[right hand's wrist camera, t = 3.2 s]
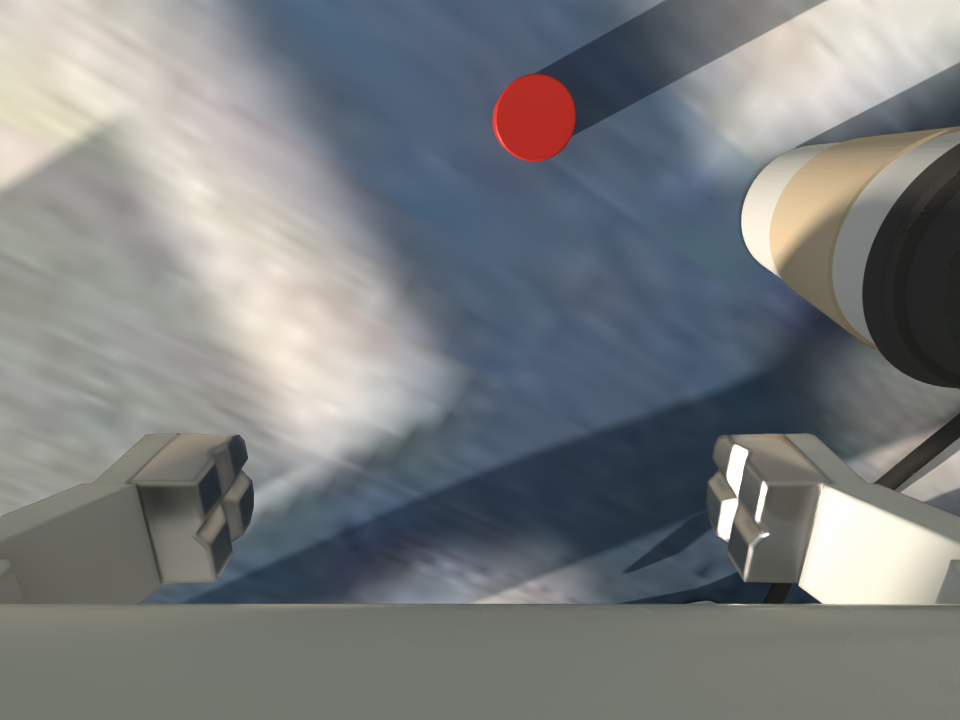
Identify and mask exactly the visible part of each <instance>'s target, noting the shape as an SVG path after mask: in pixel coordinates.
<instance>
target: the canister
mask: <svg viewBox="0 0 960 720" xmlns="http://www.w3.org/2000/svg"><path fill="white" fill-rule="evenodd" d="M575 124H576V108H575V103H574V100H573V98H572V96H571V94H570V92H569V91H568V89H567V88H566V87H565V86H564V84H562V83H561V82H560V81H559V80H557V79H556V78H554V77H551V76H549V75H545V74H528V75H525V76H522V77H520V78H518V79H516V80H515V81H513V82H512V83H511V84H510V85H509V86H508V87H507V88H506V89H505V90H504V92H503V93H502V95H501V96H500V98H499V99H498V101H497V103H496V105H495V108H494V112H493V129H494V132H495V135H496V137H497V139H498V141H499V142H500V144H501V145H502V146H503V147H504V148H505V149H506V150H508V151H509V152H510V153H511V154H513V155H514V156H516V157H518V158H520V159H523V160H526V161H542V160H546V159H549V158H551V157H553V156H555V155H556V154H558V153H559V152H560V151H561V150H562V149H563V148H564V147H565V146H566V145H567V143H568V142H569V140H570V138H571V137H572V134H573V132H574V128H575Z"/></svg>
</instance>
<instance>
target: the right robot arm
mask: <svg viewBox="0 0 960 720" xmlns="http://www.w3.org/2000/svg"><path fill="white" fill-rule="evenodd" d="M959 437H960V413H959V414H958V415H957V416H956V417H954V418H953V419H952V420H951V421H949V422H948V423H947V424H946V425H944V426H943V427H942V428H941V429H939V430H938V431H937V432H936V433H934V434H933V435H932V436H931V437H929V438H928V439H927V440H926V441H925V442H923V443H922V444H921V445H920V446H918V447H917V448H916V449H915V450H914V451H912V452H911V453H910V454H909V455H908V456H906V457H905V458H904V459H903V460H901V461H900V462H899V463H898V464H897V465H895V466H894V467H893V468H892V469H891V470H889V471H888V472H887V473H886V474H885V475H883V476H882V477H881V478H880V479H879V480H877V481H876V482H875V483H874V484H868V483H867V482H866V481H864V480H863V479H862V478H861V477H860V476H859V475H858V474H857V473H856V472H855V471H853V470H852V469H851V468H850V467H849V466H848V465H847V464H846V463H845V462H844V461H842V460H841V459H840V458H839V457H838V456H837V455H836V454H835V453H834V452H833V451H831V450H830V449H829V448H828V447H827V446H826V445H825V444H824V443H823V442H822V441H820V440H819V439H818V438H817V437H816V436H815V435H812V434H808V433H796V434H748V435H723V436H718V438H717V440H716V442H715V445H714V449H713V455H712V459H713V461H714V462H715V464H716V465H717V467H718V468H719V470H718V471H717V472H716V473H715V474H714V475H713V476H712V477H711V478H710V479H709V480H708V485H707V493H706V504H707V514H708V517H709V520H710V523H711V526H712V528H713V529H714V531H715V533H716V535H718V536H719V537H721V538H723V539H724V540H726V541H727V542H729V545H728V550H727V554H728V555H729V557H730V559H731V561H732V562H733V564H734V566H735V567H736V569H737V571H738V572H739V574H740V576H741V577H742V579H743V581H744V582H768V583H773V584H772V586H771V588H770V590H769V592H768V594H767V596H766V598H765V600H764V602H763V603H762V604H717V603H715V602H712V601H699V602H694V603H688V604H138V603H139V602H140V601H142V600H143V599H144V598H146V597H147V596H149V595H150V594H151V593H153V592H154V591H155V590H157V589H158V588H159V587H161V583H191V582H216V581H217V579H218V578H219V576H220V574H221V572H222V571H223V569H224V567H225V566H226V564H227V562H228V561H229V559H230V557H231V555H232V554H233V550H232V545H231V542H233V541H234V540H236V539H237V538H239V537H241V536H242V535H244V533H245V531H246V529H247V527H248V526H249V524H250V520H251V516H252V512H253V508H254V491H253V484H252V480H251V479H250V478H249V477H248V476H247V475H246V474H245V473H244V472H243V471H242V470H241V468H242V467H243V465H244V464H245V462H246V461H247V459H248V455H247V450H246V446H245V441H244V440H243V439H242V438H241V436H240V435H219V434H179V433H166V434H148V435H145V436H144V437H143V438H142V439H141V440H140V441H139V442H138V443H136V444H135V445H134V446H133V447H132V448H131V449H130V450H129V451H128V452H126V453H125V454H124V455H123V456H122V457H121V458H120V459H119V460H118V461H117V462H115V463H114V464H113V465H112V466H111V467H110V468H109V469H108V470H107V471H106V472H104V473H103V474H102V475H101V476H100V477H99V478H98V479H97V480H96V481H95V482H93V483H92V484H81V485H78V486H76V487H73V488H71V489H68V490H66V491H63V492H61V493H58V494H56V495H53V496H51V497H48V498H46V499H43V500H41V501H38V502H36V503H33V504H31V505H28V506H26V507H23V508H21V509H18V510H16V511H13V512H11V513H8V514H6V515H3V516H1V517H0V720H960V517H959V516H957V515H954V514H952V513H949V512H947V511H944V510H942V509H939V508H937V507H934V506H932V505H929V504H927V503H924V502H922V501H919V500H917V499H914V498H912V497H909V496H907V495H904V494H902V493H899V492H897V491H894V490H895V489H896V488H897V487H899V486H900V485H901V484H902V483H903V482H905V481H906V480H907V479H908V478H910V477H911V476H912V475H913V474H915V473H916V472H917V471H918V470H919V469H921V468H922V467H923V466H924V465H926V464H927V463H928V462H929V461H931V460H932V459H933V458H934V457H935V456H937V455H938V454H939V453H940V452H942V451H943V450H944V449H945V448H947V447H948V446H949V445H950V444H952V443H953V442H954V441H955V440H957V439H958V438H959ZM792 583H799V585H798V586H800V587H801V588H802V589H804V590H805V591H806V592H808V593H809V594H810V595H812V596H813V597H814V598H816V599H817V600H818V601H820V602H821V603H822V604H783V602H784V600H785V598H786V596H787V593H788V591H789V589H790V587H791V584H792Z"/></svg>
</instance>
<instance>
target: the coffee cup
mask: <svg viewBox="0 0 960 720" xmlns="http://www.w3.org/2000/svg"><path fill="white" fill-rule="evenodd" d="M741 224H742V233H743V237H744V240H745V243H746V245H747V247H748V249H749V251H750V253H751V254H752V255H753V257H754V258H755V259H756V260H757V261H758V262H759V263H760V264H762V265H763V266H764V267H766V268H767V269H769V270H770V271H771V272H773V273H774V274H776V275H777V276H779V277H780V278H781V279H783V280H784V282H785V283H786V284H787V285H788V286H789V287H790V288H791V289H792V290H794V291H795V292H796V293H798V294H799V295H800V296H802V297H803V298H804V299H806V300H807V301H808V302H810V303H811V304H812V305H813V306H815V307H816V308H817V309H819V310H820V311H821V312H823V313H824V314H825V315H827V316H828V317H829V318H831V319H832V320H833V321H835V322H836V323H837V324H839V325H840V326H841V327H843V328H844V329H845V330H847V331H848V332H849V333H851V334H852V335H853V336H855V337H856V338H857V339H859V340H860V341H861V342H863V343H864V344H866V345H868V346H870V347H872V348H874V349H876V350H879V351H880V352H881V354H882V355H883V356H884V357H885V358H886V359H887V360H888V361H889V362H890V363H891V364H892V365H893V366H894V367H896V368H897V369H898V370H900V371H901V372H903V373H904V374H906V375H908V376H910V377H912V378H914V379H916V380H919V381H921V382H924V383H928V384H931V385H936V386H941V387H949V388H959V389H960V126H959V127H950V128H941V129H933V130H924V131H915V132H906V133H897V134H888V135H880V136H871V137H862V138H856V139H851V140H847V141H844V142H838V143H827V144H817V145H808V146H803V147H799V148H796V149H793V150H791V151H789V152H786V153H784V154H783V155H781V156H779V157H778V158H776V159H775V160H774V161H772V162H771V163H770V164H769V165H768V166H766V167H765V168H764V170H763V171H762V172H761V173H760V174H759V175H758V177H757V178H756V179H755V181H754V182H753V184H752V186H751V187H750V189H749V191H748V193H747V196H746V199H745V202H744V205H743V210H742V219H741Z"/></svg>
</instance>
